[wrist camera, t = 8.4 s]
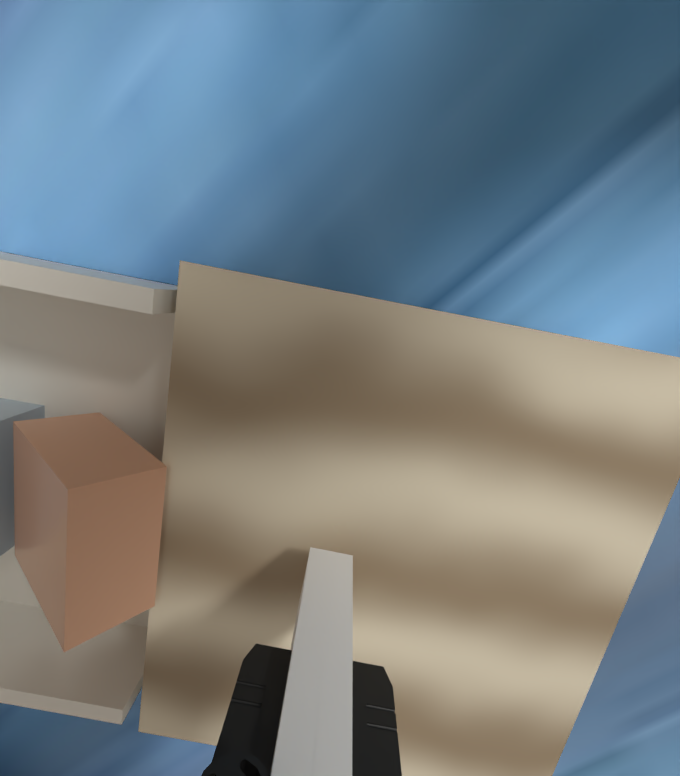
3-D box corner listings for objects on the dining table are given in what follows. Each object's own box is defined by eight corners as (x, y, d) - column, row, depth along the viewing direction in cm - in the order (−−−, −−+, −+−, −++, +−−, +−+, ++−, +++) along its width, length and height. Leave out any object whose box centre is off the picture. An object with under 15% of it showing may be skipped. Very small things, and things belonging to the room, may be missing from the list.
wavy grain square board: (221, 269, 16) (179, 260, 12) (637, 350, 16) (727, 367, 12) (178, 650, 21) (138, 731, 17) (505, 710, 21) (539, 804, 17)
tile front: (99, 412, 17) (13, 421, 15) (167, 466, 14) (67, 489, 11) (94, 529, 19) (14, 555, 16) (154, 606, 15) (64, 652, 13)
